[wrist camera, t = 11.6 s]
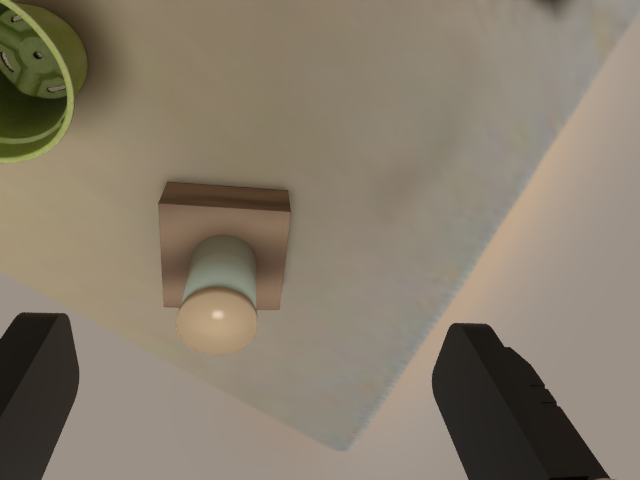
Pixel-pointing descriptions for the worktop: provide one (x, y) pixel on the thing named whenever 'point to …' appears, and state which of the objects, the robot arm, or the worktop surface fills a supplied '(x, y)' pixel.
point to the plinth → (223, 233)
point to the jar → (219, 297)
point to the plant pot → (36, 80)
